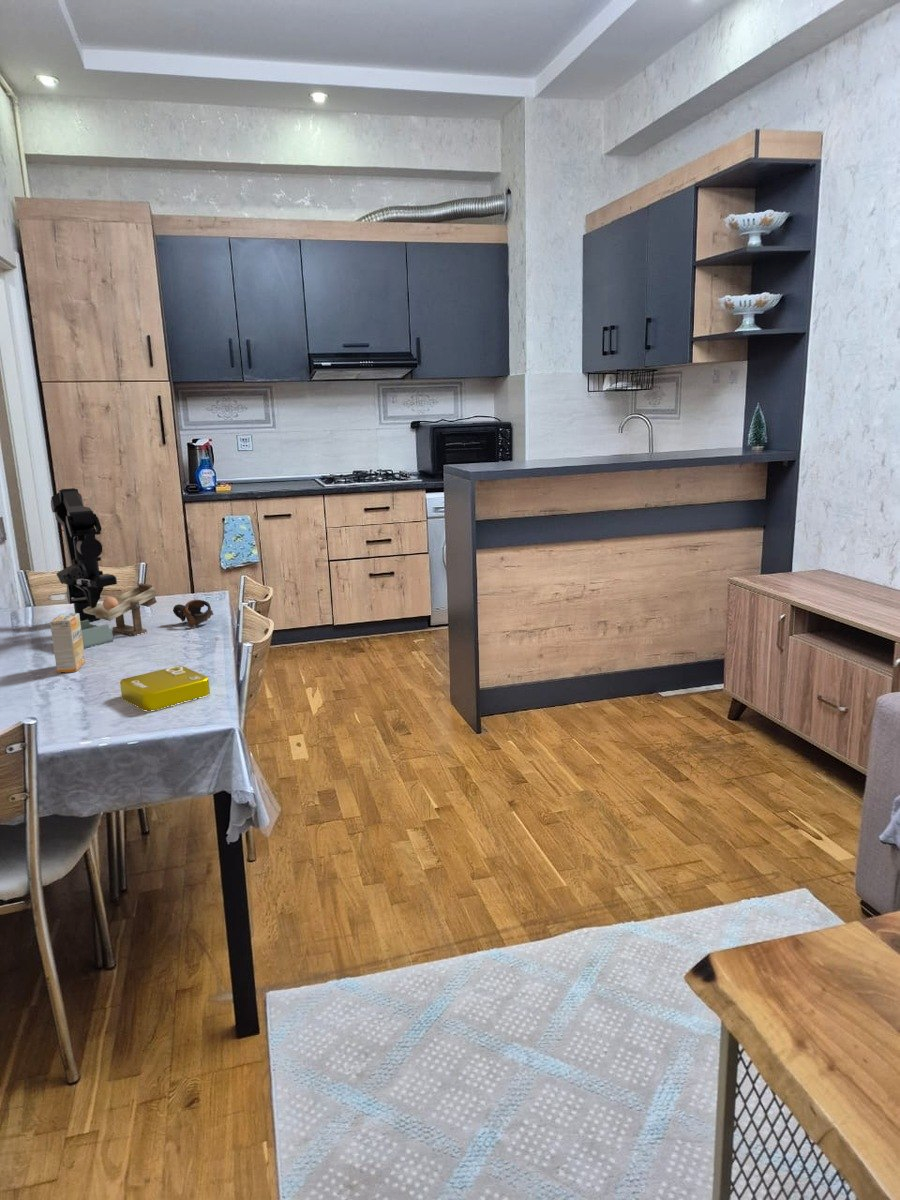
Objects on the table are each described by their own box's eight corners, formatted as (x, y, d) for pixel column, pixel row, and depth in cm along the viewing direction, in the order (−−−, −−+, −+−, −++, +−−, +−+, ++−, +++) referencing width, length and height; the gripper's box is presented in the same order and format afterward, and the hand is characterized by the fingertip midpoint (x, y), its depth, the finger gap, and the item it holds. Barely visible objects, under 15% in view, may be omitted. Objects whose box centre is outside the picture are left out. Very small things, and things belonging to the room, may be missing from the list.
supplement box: (77, 672, 195) (70, 620, 192) (56, 673, 194) (49, 621, 191) (86, 662, 203) (79, 612, 200) (66, 663, 202) (59, 613, 199)
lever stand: (125, 627, 236) (121, 596, 234) (146, 632, 229) (143, 600, 227) (112, 630, 233) (108, 599, 231) (134, 635, 226) (130, 603, 224)
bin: (56, 645, 219) (53, 627, 218) (92, 636, 228) (90, 619, 226) (77, 650, 213) (74, 632, 212) (113, 641, 221) (111, 623, 220)
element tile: (118, 698, 176) (116, 677, 175) (183, 682, 186) (180, 662, 185) (147, 715, 165) (144, 693, 164) (213, 696, 175) (211, 675, 174)
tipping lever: (129, 596, 243) (123, 580, 240) (159, 601, 234) (153, 585, 232) (83, 620, 231) (76, 604, 229) (112, 627, 223) (105, 610, 220)
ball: (107, 593, 226) (115, 603, 229) (97, 602, 224) (105, 613, 226) (115, 594, 224) (123, 605, 226) (105, 604, 222) (113, 614, 224)
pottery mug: (216, 620, 244) (217, 600, 239) (207, 640, 237) (207, 620, 232) (177, 611, 243) (177, 591, 238) (166, 632, 236) (166, 611, 231)
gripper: (41, 556, 226) (49, 609, 230) (76, 561, 216) (84, 617, 219) (78, 550, 235) (86, 602, 239) (114, 555, 224) (121, 608, 228)
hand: (93, 607), depth 231 cm, fingers closed, pressing on tipping lever
